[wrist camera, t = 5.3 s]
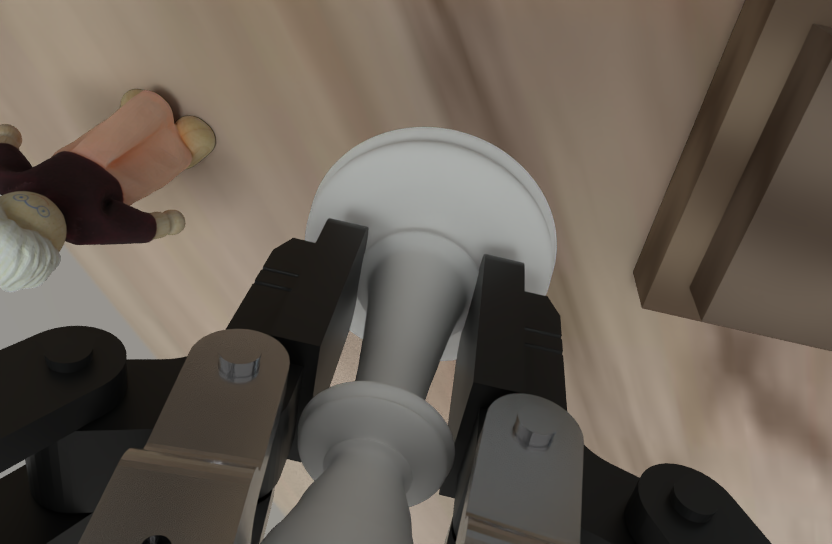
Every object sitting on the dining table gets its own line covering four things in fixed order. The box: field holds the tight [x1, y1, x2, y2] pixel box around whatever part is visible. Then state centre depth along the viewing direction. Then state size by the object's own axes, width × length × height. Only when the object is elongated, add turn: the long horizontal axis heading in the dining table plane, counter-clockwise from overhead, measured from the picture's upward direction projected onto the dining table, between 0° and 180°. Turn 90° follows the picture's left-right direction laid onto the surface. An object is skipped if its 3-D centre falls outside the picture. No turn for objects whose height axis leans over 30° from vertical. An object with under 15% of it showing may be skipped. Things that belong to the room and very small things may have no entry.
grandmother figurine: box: [0, 89, 215, 292], centre depth 28 cm, size 8×4×13 cm, turn 72°
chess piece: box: [260, 127, 557, 544], centre depth 10 cm, size 5×5×10 cm
